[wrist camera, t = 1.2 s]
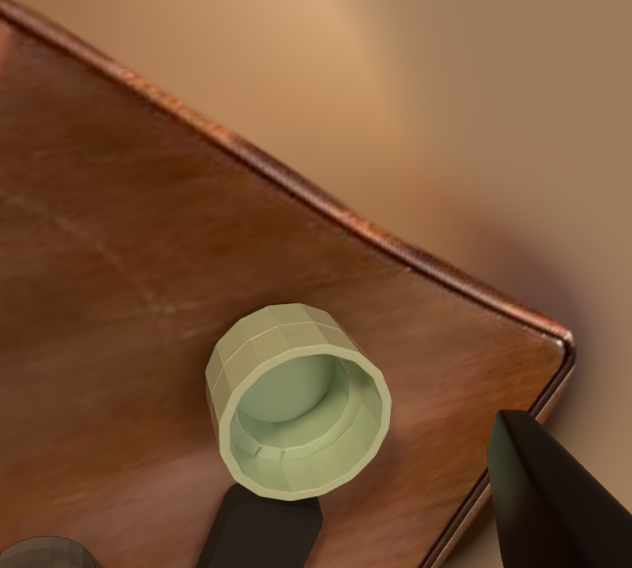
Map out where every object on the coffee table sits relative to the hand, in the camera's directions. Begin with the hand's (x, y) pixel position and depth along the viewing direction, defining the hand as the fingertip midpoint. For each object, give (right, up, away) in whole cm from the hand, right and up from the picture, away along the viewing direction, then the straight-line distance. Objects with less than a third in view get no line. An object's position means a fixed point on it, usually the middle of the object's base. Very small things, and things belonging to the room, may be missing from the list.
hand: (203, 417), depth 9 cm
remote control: (-3, -14, +21) cm, 26 cm away
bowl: (0, -2, +17) cm, 17 cm away
